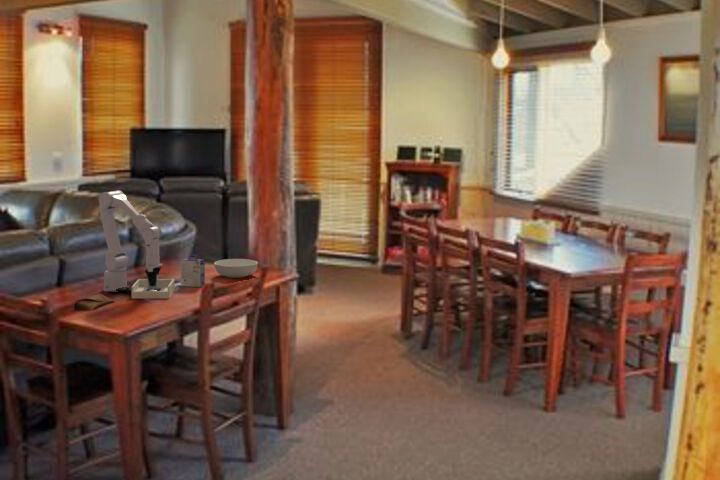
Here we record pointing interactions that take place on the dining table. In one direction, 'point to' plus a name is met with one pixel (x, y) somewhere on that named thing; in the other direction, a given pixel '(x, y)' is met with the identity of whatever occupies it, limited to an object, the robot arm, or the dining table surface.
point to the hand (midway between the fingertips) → (153, 284)
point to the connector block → (155, 285)
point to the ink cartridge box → (193, 272)
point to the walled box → (163, 290)
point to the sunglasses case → (92, 302)
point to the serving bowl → (236, 267)
